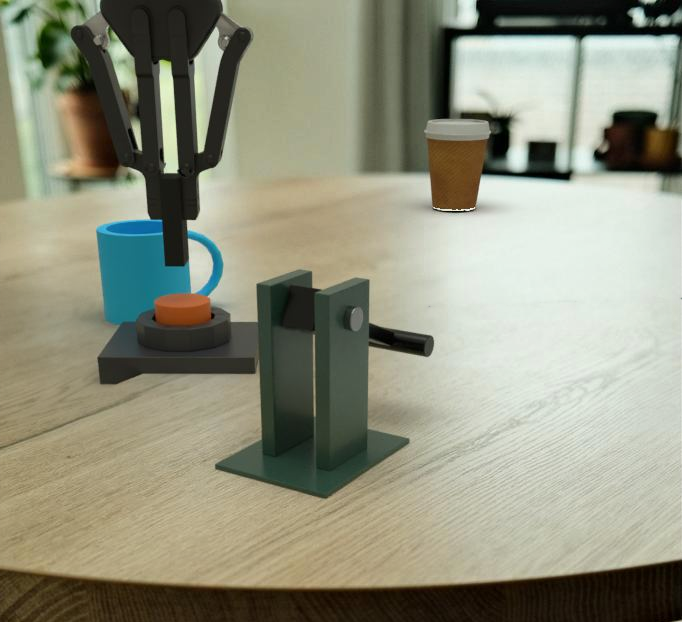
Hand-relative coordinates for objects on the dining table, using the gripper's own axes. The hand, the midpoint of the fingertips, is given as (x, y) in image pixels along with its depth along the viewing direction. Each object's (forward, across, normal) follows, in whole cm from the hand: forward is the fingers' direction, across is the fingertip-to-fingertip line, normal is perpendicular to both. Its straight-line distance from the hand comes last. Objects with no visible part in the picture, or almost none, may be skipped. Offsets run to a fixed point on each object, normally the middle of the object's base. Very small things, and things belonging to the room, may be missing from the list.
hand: (177, 262), depth 79 cm
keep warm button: (+5, 0, 0) cm, 5 cm away
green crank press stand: (+8, -11, +21) cm, 25 cm away
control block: (+8, 0, 0) cm, 8 cm away
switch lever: (+1, -13, +18) cm, 22 cm away
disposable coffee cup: (+9, -29, -74) cm, 80 cm away
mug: (+9, +4, -16) cm, 18 cm away
